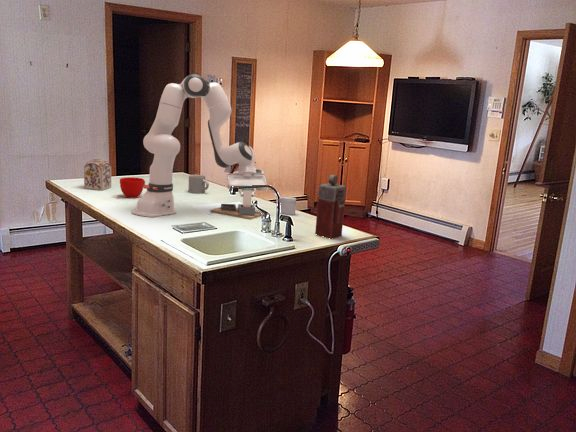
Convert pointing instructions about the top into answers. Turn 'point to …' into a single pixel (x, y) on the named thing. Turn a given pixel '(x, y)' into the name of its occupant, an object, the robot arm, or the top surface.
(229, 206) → the holster
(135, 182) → the ceramic cup
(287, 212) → the medicine box
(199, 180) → the coffee mug
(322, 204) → the brown rectangular canister
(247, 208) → the block
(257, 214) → the board
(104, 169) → the decorative jar
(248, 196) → the plug
